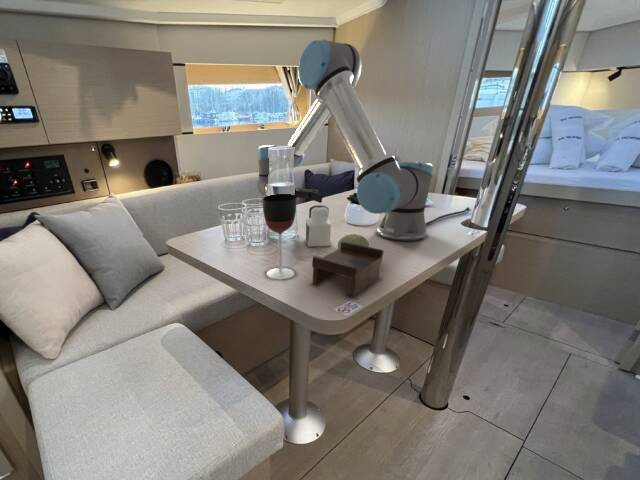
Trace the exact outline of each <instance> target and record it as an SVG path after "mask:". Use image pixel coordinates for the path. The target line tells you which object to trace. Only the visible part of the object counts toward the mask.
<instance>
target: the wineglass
mask: <svg viewBox="0 0 640 480" xmlns="http://www.w3.org/2000/svg"><path fill="white" fill-rule="evenodd" d="M261 199H262V202H261V203H262V211H263V216H264V220H265V225H266V226H267V228H268V229H270V230H271V231H273V232H275V233H277V234H278V267H275V268H271V269H269V270H268V271H267V272H266V276H267V277H268V278H270V279H273V280H286V279H290V278H292V277H294V275H295V271H294V270H293V269H290V268H288V267H283V253H282V252H283V251H282V250H283V249H282V248H283V245H282V240H283V239H282V237H283V235H282V234H283V233H284V232H286V231H287V230H289V229H290V228H291V227H292V226H293V224H294V222H295V218H296V213H297V201H298V197H297V196H295V194H294V195H291V194H276V195H270V196H263V197H262V198H261Z"/></svg>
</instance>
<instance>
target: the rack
mask: <svg viewBox="0 0 640 480" xmlns="http://www.w3.org/2000/svg"><path fill="white" fill-rule="evenodd" d="M384 252H385V251H384V249H380V248H376V247H370V246H369V247H367V246H362V245H357V244H353V243H348V242H341V248H339V249H338V248H337V249H336V250H334V251H332V252H330V253H328V254H326V255H325V256H323V257H320V256H317V255H314V256H313V257H312V259H311V260H312V262H311V263H312V264H311V267H312V285H313V286H318V285H321V284H322V283H323V282H325V281H326V280H328V279H330V278H331V277H333V276H334V275H339V276H343V277H347V278H348V279H349V278H350V279H349V282H350V283H349V288H348V289H349V290H348V297H349V298H351V299H354V298H355V297H356V296H358V295H359V294H360V293H362V292H363V291H364V290H365V289H367V288H368V287H370V286H371V285H372V284H374V283H375V282H376V281H377V280H379V278H380V271H381V265H382V260H383V258H384Z"/></svg>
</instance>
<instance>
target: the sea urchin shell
mask: <svg viewBox="0 0 640 480" xmlns="http://www.w3.org/2000/svg"><path fill="white" fill-rule="evenodd" d="M341 242H348V243H353V244H357V245H362V246H367V247H370V243H369V241H368V239H367V238H366V237H364V236H363V235H361V234H355V233H349V234H346V235H344V236H342V237H341V238H340V240H339V241H338V242H337V249H339V248H341Z"/></svg>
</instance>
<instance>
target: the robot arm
mask: <svg viewBox="0 0 640 480" xmlns="http://www.w3.org/2000/svg"><path fill="white" fill-rule="evenodd" d="M362 63H363V62H362V57H361V54H360V52H359V50H358V49H357V48H356V46H354V45H352V44H350V43H346V42H345V43H344V42H343V43H342V42H338V41H337V42H336V41H331V40H326V39H315V40H312V41H310V42H309V43H308V44H307V45H306V47H304V49H303V51H302V53H301V56H300V58H299V62H298V69H297V76H298V81H299V83H300V85H301V86H302V87H303V88H304V89H306V90H311V91H312V92H313V94H314V96H315V98H316V100H315V101H314V102H313V104H312V106H311V107H310V109H309V110H308V112H307V114H306V115H305V117H304V118H303V120H302V122H301V123H300V125H299V127H298V128H297V129H296V131H295V133H294V134H293V135H292V137H291V139H290V140H289V142H288V144H287V145H286V147H287V146H289V147H290V146H291V147H295V151H294V167H293V168H296V167H300V166H301V165H302V164H303V163H304V159H305V153H306V151H307V150H308V148H309V147H310V146H311V144H312V143H313V141H314V140H315V139H316V137H317V136H318V134H319V133H320V132H321V130H322V129H323V127H324V126H325V125H326V123H327V122H328V120H329V119H330V118H331V119H332V120H333V122H334V125H335V127H336V128H337V131H338V133H339V135H340V137H341V139H342V141H343V143H344V145H345V147H346V149H347V151H348V153H349V155H350V157H351V159H352V161H353V163H354V165H355V168H356V169H357V171H358V173H357V175H356V178H355V179H356V181H357V184H358V185H357V191H356V197H357V202H358V203H359V205H360V206H361V207H362V209H364V210H365V211H366V212H368V213H370V214H374V215H379V214H383V216H382V218H381V220H380V222H379V224H378V227H377V231H376V232H377V235H378V236H380V237H381V238H384V239H387V240H390V241H391V240H393V241H400V242H414V241H419V240H420V241H421V240H422V239H424V238H425V237H426V234H427V225H429V224H432V223H434V222H436V221H438V220H440V219H442V218H446V217H450V216H453V215H459V214H463V213H465V212H467V211H470V207H468V206H466V208H465V209H464V210H459V211H455V212H449V213H446V214H443V215H440V216H437V217H435V218H434V219H432V220H430V221H427V222H426V217H425V209H426V204H427V201H428V196H429V191H430V188H431V183H432V179H433V175H434V174H433V171H434V165H433V164H431V163H428V162H412V161H411V162H408V161H397V160H396V158H395V156H394V155H389V154H387V153H386V151H385V149H384V147H383V145H382V143H381V141H380V139H379V137H378V135H377V133H376V131H375V129H374V127H373V125H372V123H371V121H370V119H369V117H368V115H367V113H366V110H365V109H364V107H363V105H362V102H361V101H360V99H359V97H358V95H357V93H356V91H355V87H356V86H357V83H358V81H359V79H360V77H361V72H362ZM269 147H277V146H276V145H273V144H272V145H271V144H269V145H261V146H259V147H258V149H257V150H258V151H257V162H258V179H257V180H256V182H255V189H256V191H257V192H258V193H259V194H260V195H262V196H263V197H266V196H267V186H268V175H269V158H268V148H269ZM294 189H295V193H294V195H295V196H297V199H298V198H300V199H310V200H312V201H314V202H316V203H319V204H320V203H323V194H321V193H319V190H318V189H315V188H313V189H309V188H302V187H296V188H294Z"/></svg>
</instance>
